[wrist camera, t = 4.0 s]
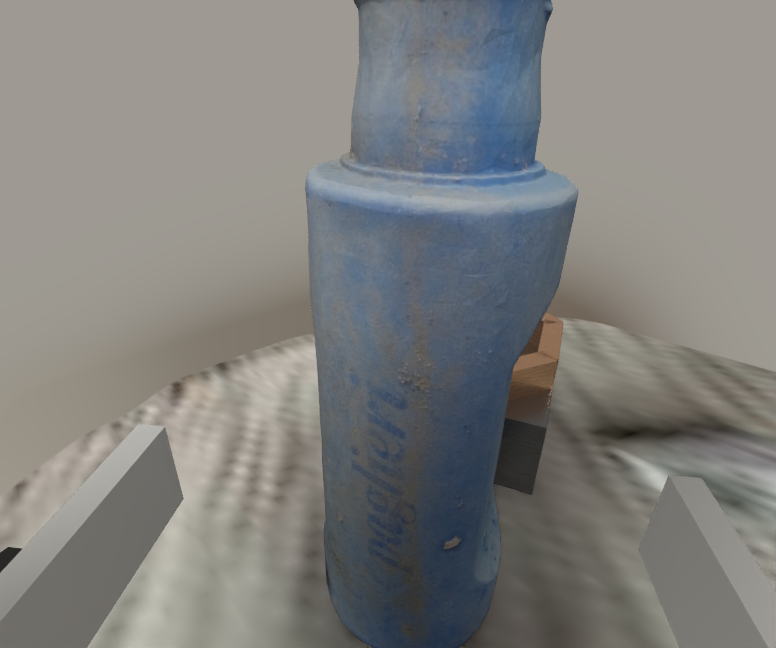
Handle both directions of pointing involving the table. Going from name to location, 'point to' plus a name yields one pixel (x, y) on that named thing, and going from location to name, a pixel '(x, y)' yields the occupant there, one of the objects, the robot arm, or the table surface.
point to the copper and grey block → (529, 407)
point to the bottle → (429, 306)
